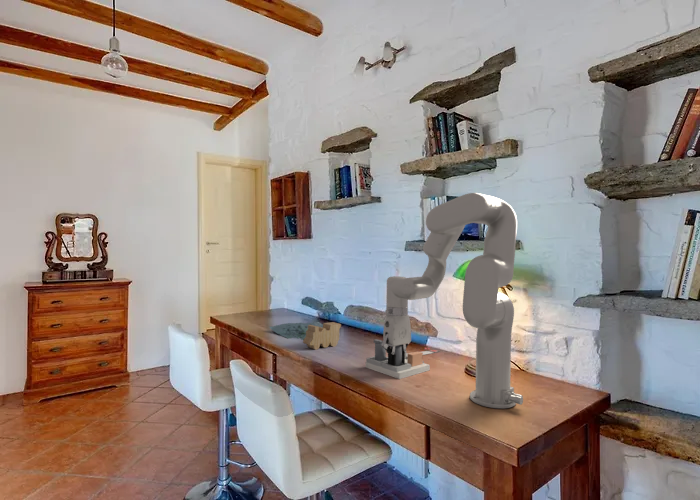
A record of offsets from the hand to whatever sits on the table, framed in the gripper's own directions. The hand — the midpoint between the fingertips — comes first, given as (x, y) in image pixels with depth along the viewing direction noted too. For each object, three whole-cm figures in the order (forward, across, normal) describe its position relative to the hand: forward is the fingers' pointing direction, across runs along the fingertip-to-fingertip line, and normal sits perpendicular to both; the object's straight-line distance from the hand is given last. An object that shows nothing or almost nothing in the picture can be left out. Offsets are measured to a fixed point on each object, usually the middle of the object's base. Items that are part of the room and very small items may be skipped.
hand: (396, 363), depth 140 cm
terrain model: (+4, +13, +77) cm, 78 cm away
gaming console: (+4, +27, +15) cm, 32 cm away
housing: (+4, +4, +4) cm, 7 cm away
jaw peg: (0, 0, 0) cm, 1 cm away
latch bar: (+2, +8, -1) cm, 9 cm away
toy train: (+4, +2, +47) cm, 47 cm away
